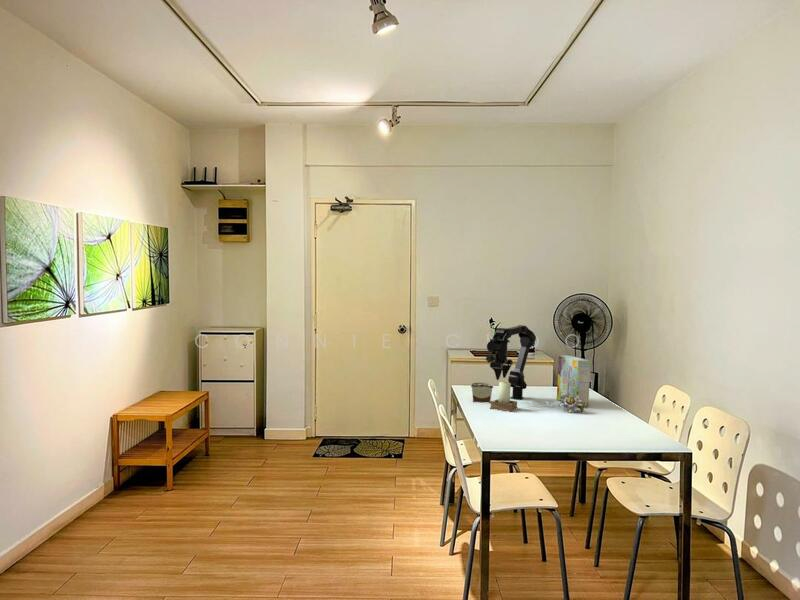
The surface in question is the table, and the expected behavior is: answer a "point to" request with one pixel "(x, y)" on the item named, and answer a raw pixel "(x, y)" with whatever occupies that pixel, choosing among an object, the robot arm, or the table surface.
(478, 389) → the food container
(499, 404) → the holder
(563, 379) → the snack box
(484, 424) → the table surface
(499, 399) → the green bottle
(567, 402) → the passion flower
